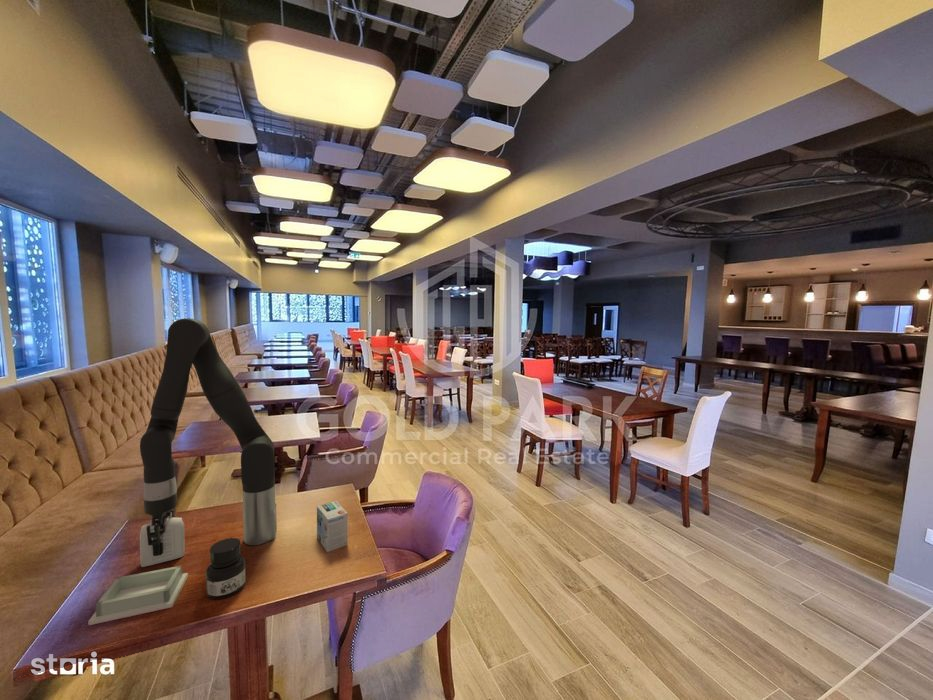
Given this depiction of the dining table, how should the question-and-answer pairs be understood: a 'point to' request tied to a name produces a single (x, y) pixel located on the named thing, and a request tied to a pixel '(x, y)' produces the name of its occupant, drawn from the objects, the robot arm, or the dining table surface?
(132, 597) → the printer dock
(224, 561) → the ink bottle
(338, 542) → the light bulb box
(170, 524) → the photo printer
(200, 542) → the dining table surface
